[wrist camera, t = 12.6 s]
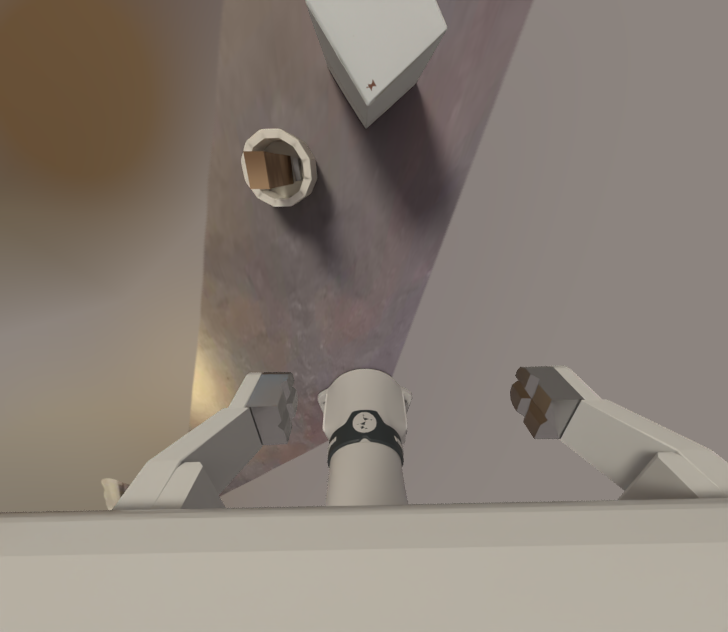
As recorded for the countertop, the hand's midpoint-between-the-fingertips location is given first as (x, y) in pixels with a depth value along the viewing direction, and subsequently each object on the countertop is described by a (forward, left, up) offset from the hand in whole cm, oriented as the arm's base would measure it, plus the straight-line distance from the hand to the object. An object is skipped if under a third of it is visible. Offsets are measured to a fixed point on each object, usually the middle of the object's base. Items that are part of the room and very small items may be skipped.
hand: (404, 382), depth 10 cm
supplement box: (+16, 0, -31) cm, 35 cm away
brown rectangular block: (+7, +11, -30) cm, 33 cm away
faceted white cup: (+7, +11, -31) cm, 34 cm away
